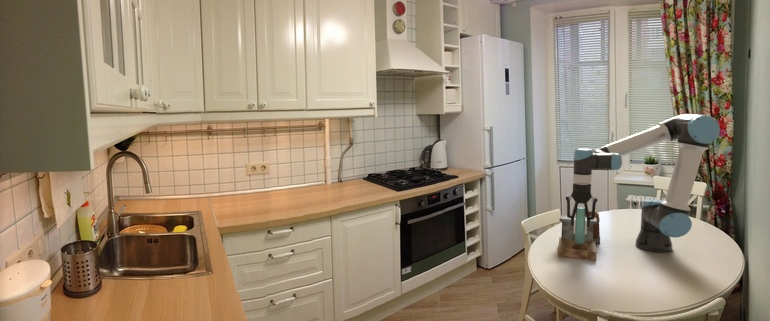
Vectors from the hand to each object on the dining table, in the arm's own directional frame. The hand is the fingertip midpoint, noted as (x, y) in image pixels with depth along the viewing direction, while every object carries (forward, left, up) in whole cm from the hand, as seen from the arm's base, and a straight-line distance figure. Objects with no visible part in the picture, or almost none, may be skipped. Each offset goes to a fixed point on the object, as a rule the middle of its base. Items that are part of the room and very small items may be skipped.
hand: (579, 233), depth 205 cm
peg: (0, 0, -4) cm, 4 cm away
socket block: (+1, -5, -11) cm, 12 cm away
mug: (-4, -25, -11) cm, 27 cm away
